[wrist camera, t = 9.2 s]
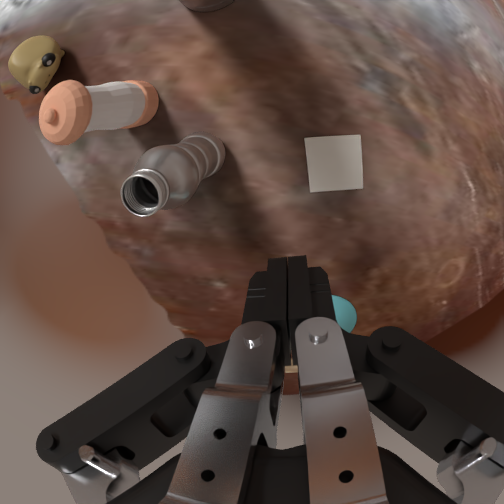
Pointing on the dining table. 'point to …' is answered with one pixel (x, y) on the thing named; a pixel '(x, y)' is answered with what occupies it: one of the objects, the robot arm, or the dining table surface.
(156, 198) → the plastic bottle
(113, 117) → the pepper shaker
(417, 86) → the dining table surface
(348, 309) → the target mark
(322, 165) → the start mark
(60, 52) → the yellow plush toy
